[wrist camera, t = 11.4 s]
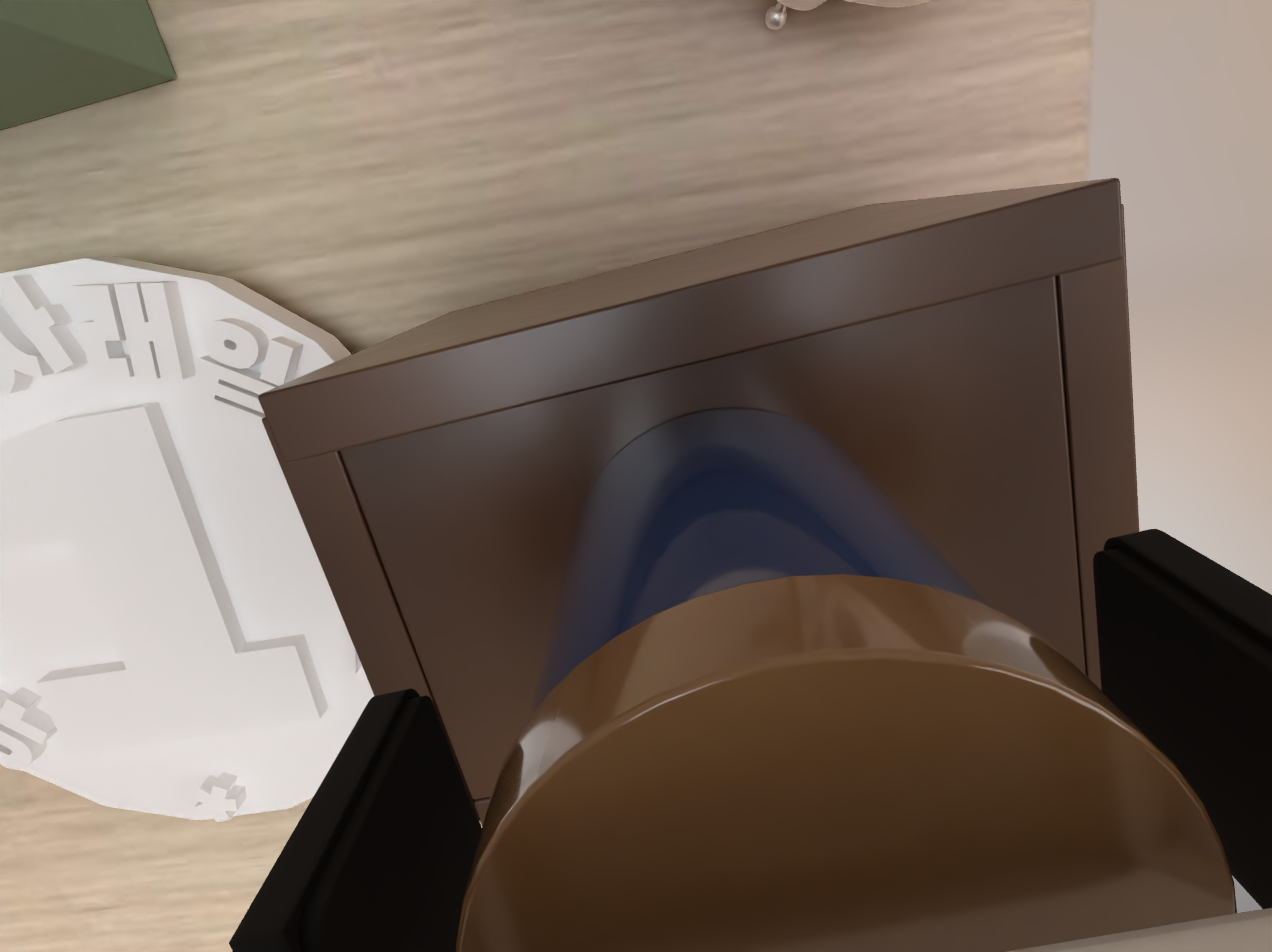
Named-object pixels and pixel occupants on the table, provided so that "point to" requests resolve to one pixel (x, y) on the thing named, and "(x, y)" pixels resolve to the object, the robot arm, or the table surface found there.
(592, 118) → the table surface
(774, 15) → the figurine
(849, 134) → the table surface
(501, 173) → the table surface
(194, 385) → the white round plaque
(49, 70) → the stand
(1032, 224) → the wooden storage crate
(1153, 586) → the robot arm
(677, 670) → the jar
